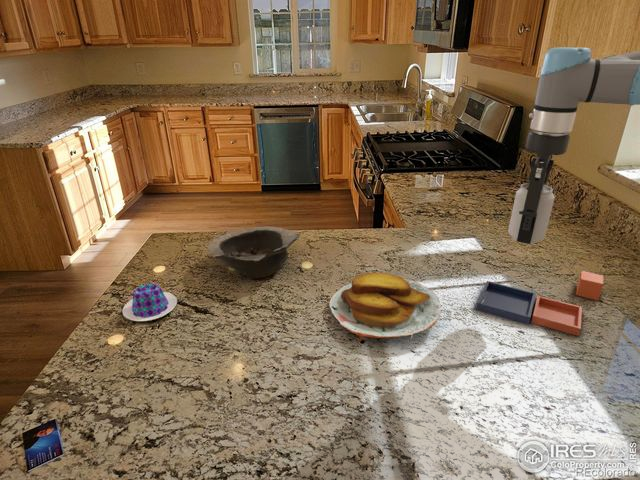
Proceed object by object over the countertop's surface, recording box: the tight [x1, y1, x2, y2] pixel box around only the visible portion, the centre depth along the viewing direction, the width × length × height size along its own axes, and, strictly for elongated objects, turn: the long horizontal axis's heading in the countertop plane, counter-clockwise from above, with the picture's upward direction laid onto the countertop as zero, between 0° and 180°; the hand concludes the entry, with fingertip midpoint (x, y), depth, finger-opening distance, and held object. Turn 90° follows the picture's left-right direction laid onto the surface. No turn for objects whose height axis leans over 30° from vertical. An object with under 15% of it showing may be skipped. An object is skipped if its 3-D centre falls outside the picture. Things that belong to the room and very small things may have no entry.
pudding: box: [122, 283, 178, 322], centre depth 98 cm, size 12×12×5 cm
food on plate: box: [328, 271, 443, 342], centre depth 96 cm, size 25×25×7 cm
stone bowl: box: [206, 225, 301, 280], centre depth 117 cm, size 25×25×9 cm
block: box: [575, 270, 604, 301], centre depth 103 cm, size 5×5×5 cm
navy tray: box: [475, 280, 537, 325], centre depth 99 cm, size 11×11×2 cm
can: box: [507, 182, 556, 244], centre depth 93 cm, size 8×8×12 cm
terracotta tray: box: [530, 295, 583, 337], centre depth 95 cm, size 9×9×2 cm
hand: (526, 235), depth 95 cm, fingers closed on can, 7 cm apart
